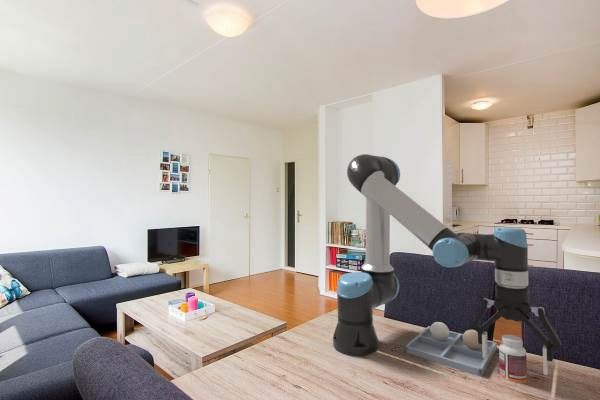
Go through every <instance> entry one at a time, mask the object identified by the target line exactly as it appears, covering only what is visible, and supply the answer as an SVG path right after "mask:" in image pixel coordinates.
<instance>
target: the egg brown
mask: <svg viewBox="0 0 600 400" xmlns="http://www.w3.org/2000/svg"><path fill="white" fill-rule="evenodd" d="M462 334H463V342H464V344H465V345H466V346H467V347H468V348H469V349H471V350H479V349H481V348H482V345H481V344H479V343H478V332H477V331H475V330H472V329H468V330H465V332H464V333H462Z"/></svg>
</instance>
